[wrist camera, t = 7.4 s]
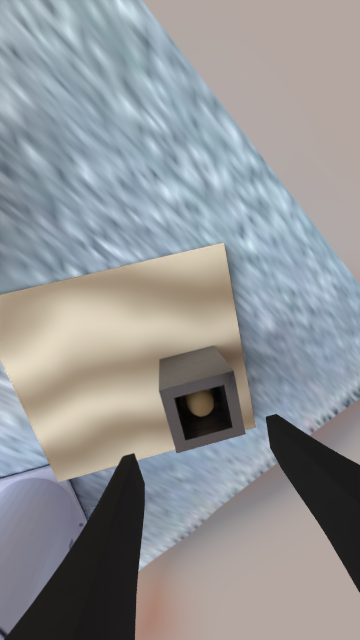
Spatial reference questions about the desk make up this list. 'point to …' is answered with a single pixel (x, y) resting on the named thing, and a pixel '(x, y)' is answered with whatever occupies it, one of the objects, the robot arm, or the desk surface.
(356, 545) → the robot arm
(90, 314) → the board
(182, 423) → the grey hollow cube
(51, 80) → the desk surface
